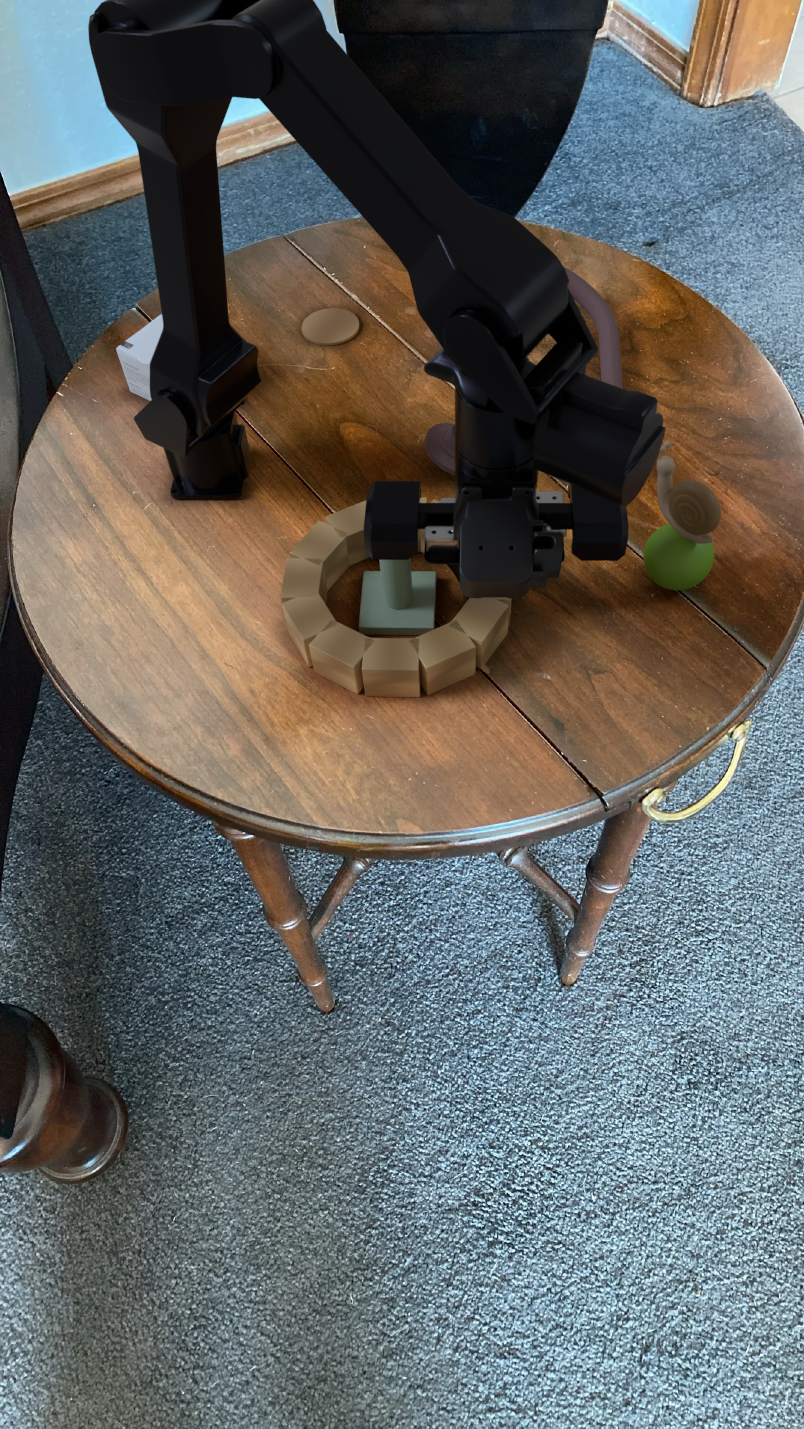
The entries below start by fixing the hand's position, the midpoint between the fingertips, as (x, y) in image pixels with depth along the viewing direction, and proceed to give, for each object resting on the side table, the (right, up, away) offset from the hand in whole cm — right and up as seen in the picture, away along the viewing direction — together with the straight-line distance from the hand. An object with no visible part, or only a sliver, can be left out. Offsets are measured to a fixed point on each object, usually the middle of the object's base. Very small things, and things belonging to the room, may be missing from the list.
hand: (491, 594), depth 78 cm
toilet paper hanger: (+5, +22, +16) cm, 28 cm away
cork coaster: (-14, +31, +23) cm, 41 cm away
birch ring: (-7, -1, +2) cm, 8 cm away
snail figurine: (+15, +2, +2) cm, 15 cm away
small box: (-29, +23, +19) cm, 42 cm away
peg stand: (-7, -1, +2) cm, 8 cm away
